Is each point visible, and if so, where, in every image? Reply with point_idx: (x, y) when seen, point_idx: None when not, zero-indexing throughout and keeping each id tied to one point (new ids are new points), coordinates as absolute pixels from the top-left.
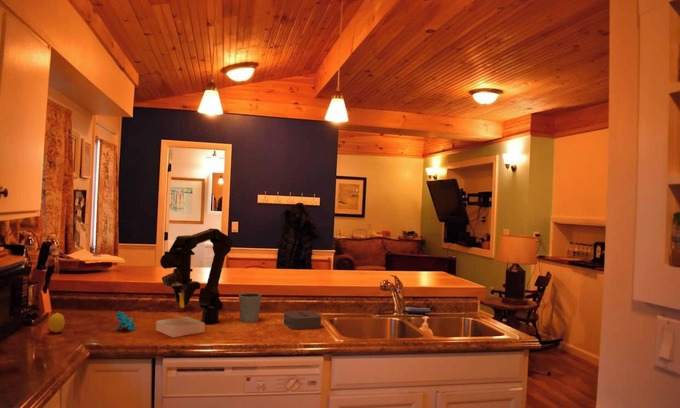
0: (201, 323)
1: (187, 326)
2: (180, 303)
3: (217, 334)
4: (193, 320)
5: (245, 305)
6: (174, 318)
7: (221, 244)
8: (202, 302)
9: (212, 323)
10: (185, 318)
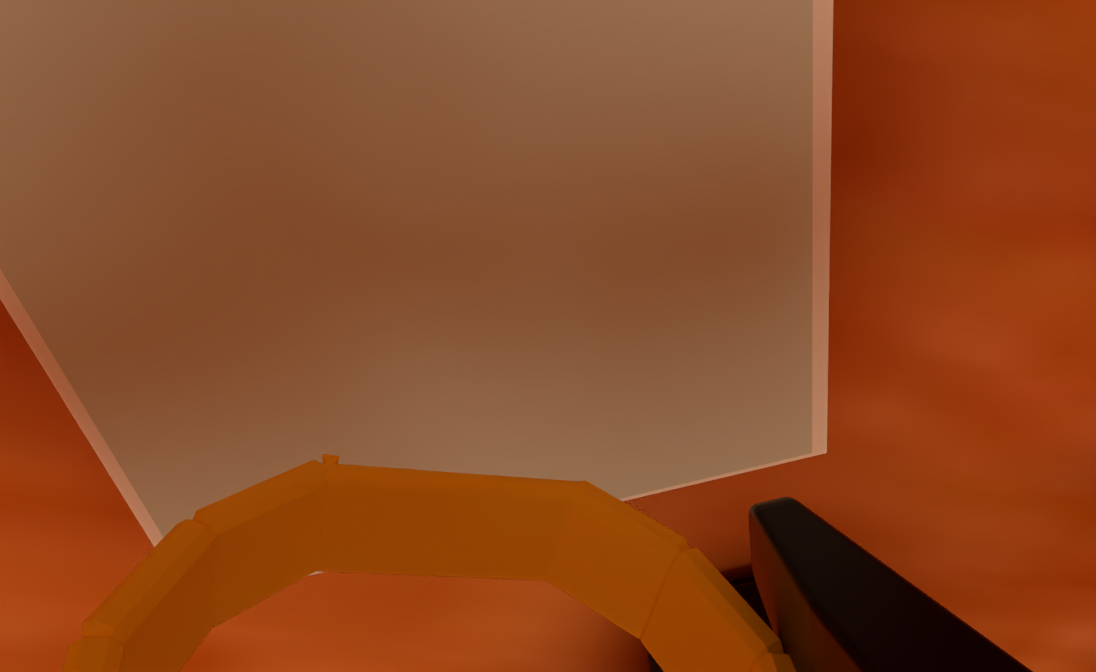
0: None
1: (2, 289)
2: (659, 573)
3: (5, 607)
4: None
5: None
6: (790, 197)
7: None
8: None
9: (647, 650)
10: (664, 397)
